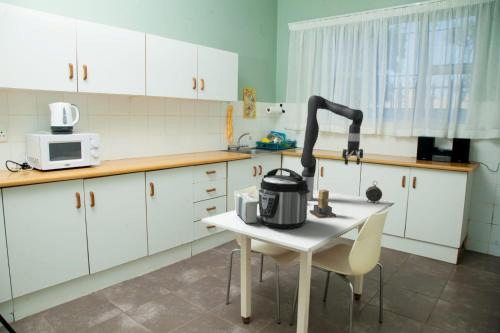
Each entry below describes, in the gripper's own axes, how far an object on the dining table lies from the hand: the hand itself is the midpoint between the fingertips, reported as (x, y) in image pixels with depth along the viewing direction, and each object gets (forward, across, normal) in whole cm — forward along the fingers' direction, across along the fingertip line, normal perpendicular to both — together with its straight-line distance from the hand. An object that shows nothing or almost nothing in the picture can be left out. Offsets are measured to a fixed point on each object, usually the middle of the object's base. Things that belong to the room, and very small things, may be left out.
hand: (352, 164), depth 235 cm
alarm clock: (+30, -27, -11) cm, 42 cm away
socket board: (+30, +25, +9) cm, 40 cm away
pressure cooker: (+30, +56, +19) cm, 67 cm away
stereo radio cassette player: (+30, +74, +7) cm, 80 cm away
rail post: (+29, +25, +9) cm, 39 cm away
